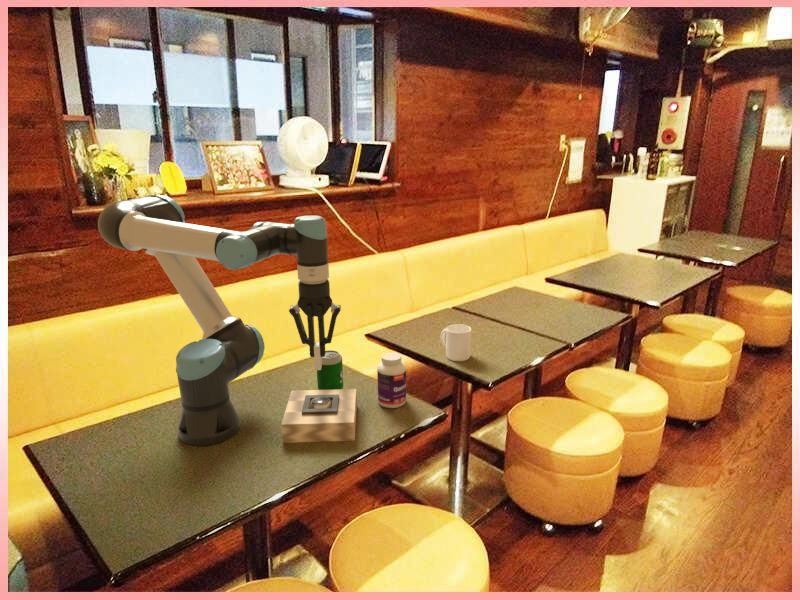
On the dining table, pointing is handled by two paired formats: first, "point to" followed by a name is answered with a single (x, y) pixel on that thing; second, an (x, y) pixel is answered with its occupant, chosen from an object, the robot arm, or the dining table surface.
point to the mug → (457, 342)
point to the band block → (320, 417)
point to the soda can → (330, 371)
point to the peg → (320, 403)
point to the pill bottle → (391, 381)
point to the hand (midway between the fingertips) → (318, 367)
